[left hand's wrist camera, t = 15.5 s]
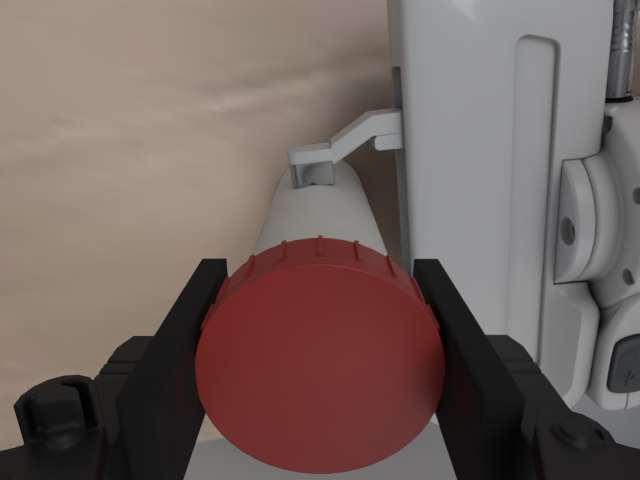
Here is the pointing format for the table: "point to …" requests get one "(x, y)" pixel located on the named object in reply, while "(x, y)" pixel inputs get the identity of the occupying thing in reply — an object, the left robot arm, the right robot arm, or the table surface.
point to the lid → (320, 357)
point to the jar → (321, 212)
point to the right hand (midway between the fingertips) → (300, 238)
